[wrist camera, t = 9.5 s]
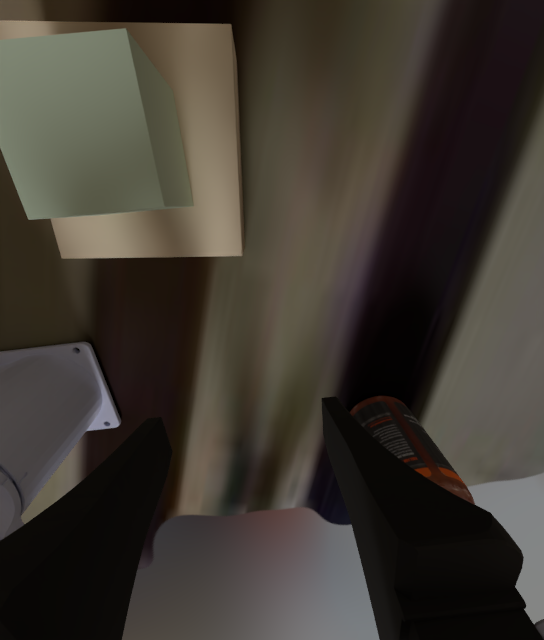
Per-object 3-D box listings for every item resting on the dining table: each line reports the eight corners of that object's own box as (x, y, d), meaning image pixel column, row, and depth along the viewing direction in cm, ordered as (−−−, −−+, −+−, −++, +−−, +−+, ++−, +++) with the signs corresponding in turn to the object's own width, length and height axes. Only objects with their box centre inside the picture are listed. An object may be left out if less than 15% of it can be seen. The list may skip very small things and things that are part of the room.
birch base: (99, 248, 19) (61, 258, 16) (56, 64, 16) (-7, 20, 12) (245, 246, 20) (242, 255, 16) (237, 65, 16) (231, 24, 12)
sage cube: (99, 215, 15) (28, 219, 10) (65, 101, 13) (-41, 43, 8) (193, 206, 15) (164, 206, 10) (172, 90, 13) (125, 28, 8)
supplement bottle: (329, 429, 26) (377, 582, 15) (370, 381, 24) (456, 517, 14) (379, 452, 27) (455, 608, 17) (421, 409, 25) (536, 552, 15)
